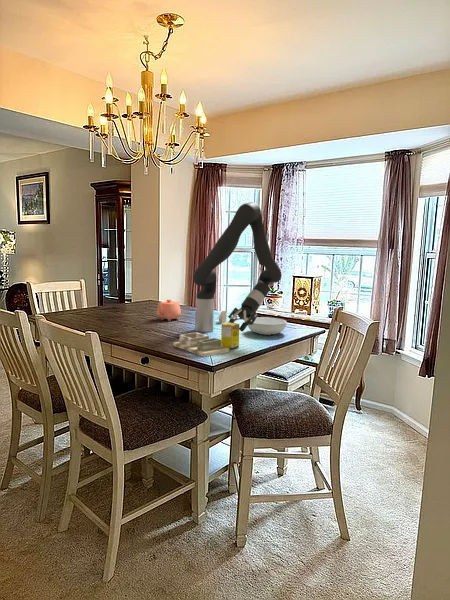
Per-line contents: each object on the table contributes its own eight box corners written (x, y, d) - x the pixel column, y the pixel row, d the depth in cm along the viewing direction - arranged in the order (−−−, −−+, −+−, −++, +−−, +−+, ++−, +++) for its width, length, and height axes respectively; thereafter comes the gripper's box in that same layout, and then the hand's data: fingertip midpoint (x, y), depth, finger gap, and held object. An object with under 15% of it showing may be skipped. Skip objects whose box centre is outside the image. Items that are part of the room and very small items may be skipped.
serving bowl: (294, 334, 218) (294, 321, 217) (267, 339, 204) (268, 326, 203) (264, 327, 233) (264, 315, 232) (237, 332, 219) (238, 319, 218)
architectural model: (216, 324, 240) (216, 311, 239) (221, 322, 246) (222, 309, 245) (221, 324, 239) (221, 311, 238) (227, 322, 245) (227, 310, 244)
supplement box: (239, 347, 188) (239, 323, 187) (231, 350, 183) (232, 325, 182) (228, 345, 191) (228, 321, 190) (220, 347, 187) (221, 323, 185)
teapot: (170, 316, 258) (171, 296, 256) (186, 318, 252) (186, 298, 250) (149, 321, 241) (149, 300, 239) (165, 323, 235) (165, 302, 233)
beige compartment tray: (173, 345, 188) (173, 334, 187) (198, 341, 197) (198, 331, 196) (203, 356, 171) (203, 345, 171) (229, 351, 180) (229, 340, 180)
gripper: (238, 294, 196) (219, 321, 191) (260, 298, 186) (240, 326, 180) (246, 304, 201) (228, 330, 195) (268, 308, 190) (249, 336, 184)
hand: (234, 328), depth 187 cm, fingers open, 8 cm apart
